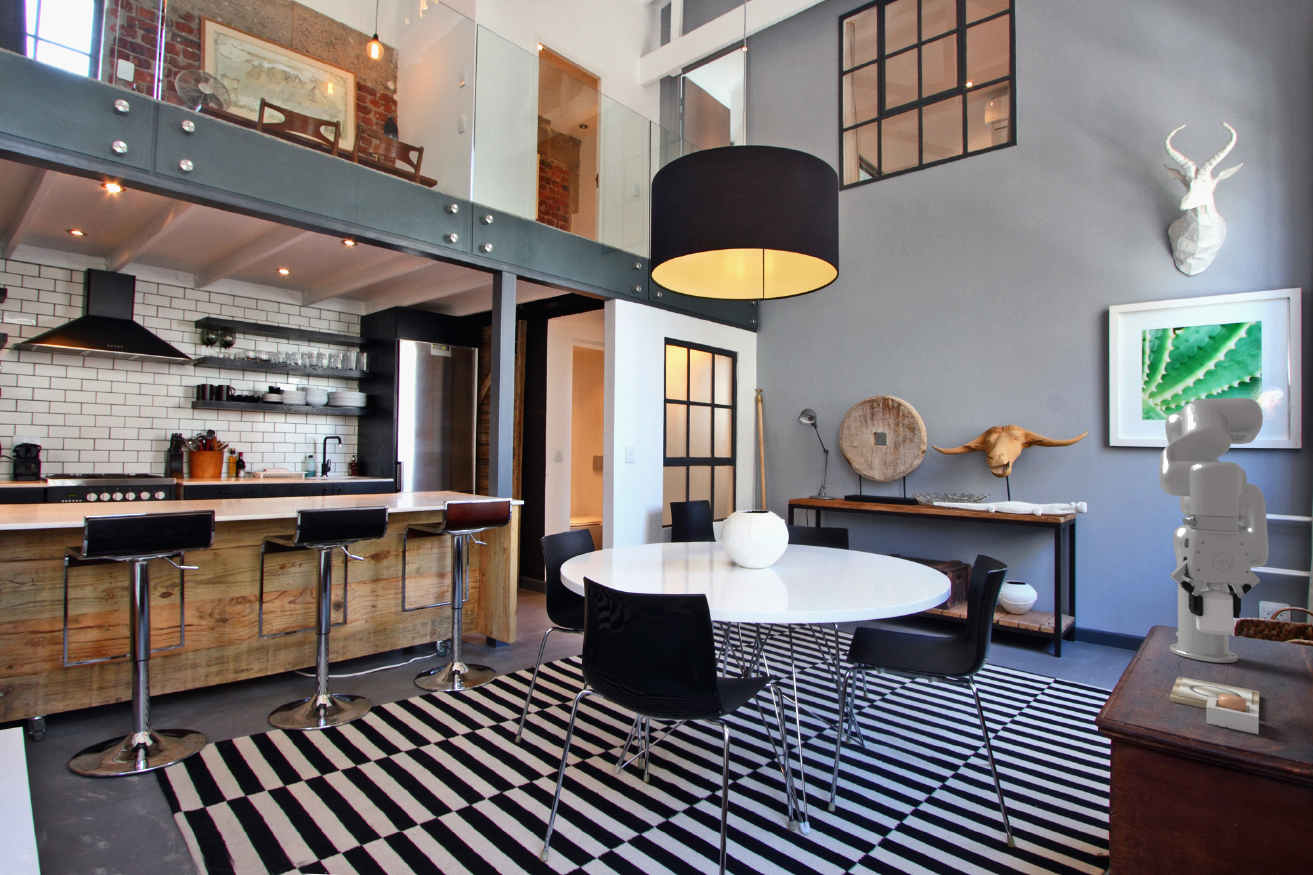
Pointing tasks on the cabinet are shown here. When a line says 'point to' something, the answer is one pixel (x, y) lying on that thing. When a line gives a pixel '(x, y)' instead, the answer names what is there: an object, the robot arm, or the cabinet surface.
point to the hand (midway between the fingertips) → (1214, 614)
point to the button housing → (1232, 716)
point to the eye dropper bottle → (1216, 611)
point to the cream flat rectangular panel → (1207, 692)
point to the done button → (1232, 702)
